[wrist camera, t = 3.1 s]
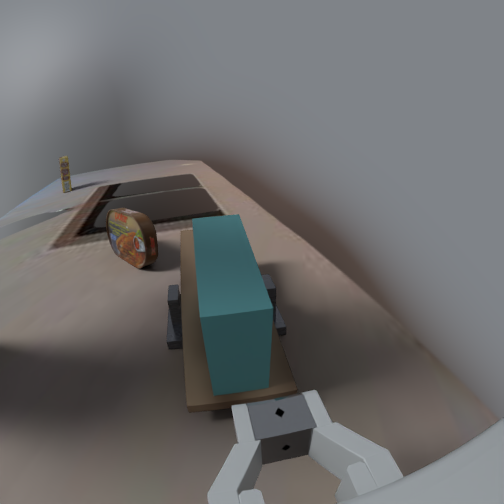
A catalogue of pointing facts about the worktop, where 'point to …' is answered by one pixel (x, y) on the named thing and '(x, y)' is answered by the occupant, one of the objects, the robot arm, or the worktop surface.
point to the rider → (232, 306)
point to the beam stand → (176, 316)
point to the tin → (132, 236)
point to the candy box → (65, 174)
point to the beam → (195, 354)
